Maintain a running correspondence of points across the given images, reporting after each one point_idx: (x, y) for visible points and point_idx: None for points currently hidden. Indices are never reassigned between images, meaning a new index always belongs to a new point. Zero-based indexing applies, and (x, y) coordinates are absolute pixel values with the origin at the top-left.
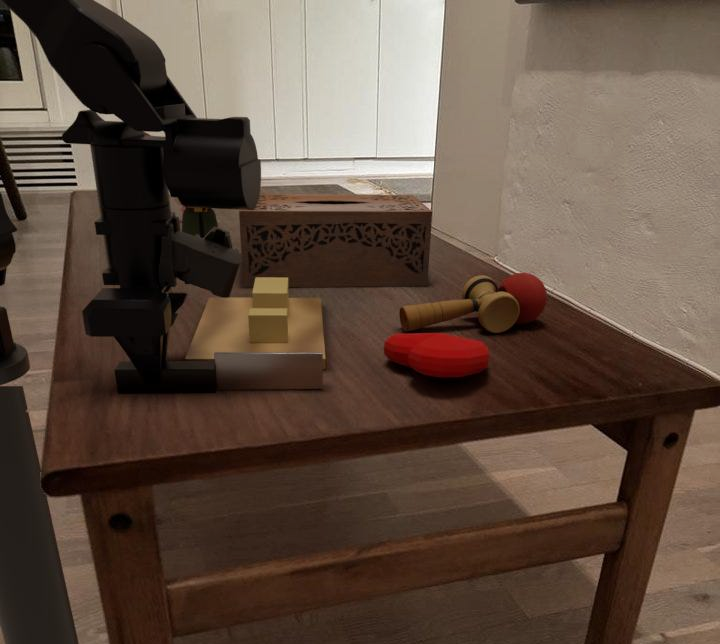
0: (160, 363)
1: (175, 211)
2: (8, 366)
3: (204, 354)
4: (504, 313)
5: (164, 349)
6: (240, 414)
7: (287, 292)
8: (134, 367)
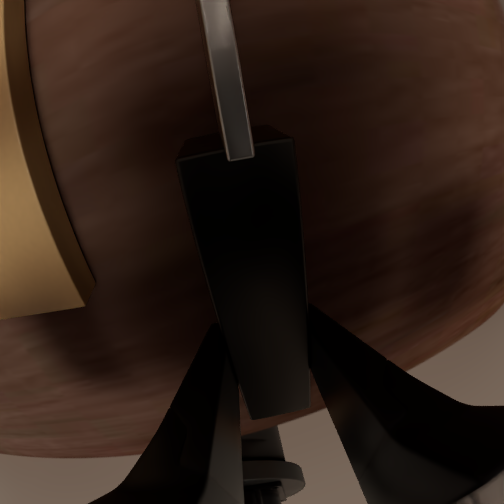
0: (345, 342)
1: None
2: (266, 478)
3: (29, 262)
4: None
5: (222, 381)
6: (408, 34)
7: None
8: (293, 387)
